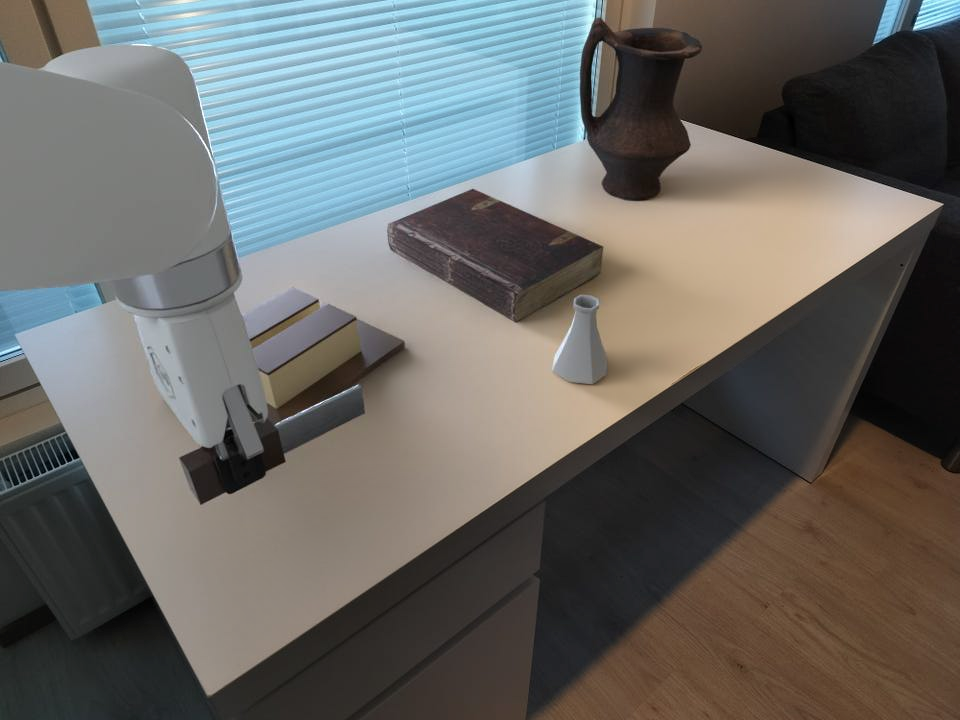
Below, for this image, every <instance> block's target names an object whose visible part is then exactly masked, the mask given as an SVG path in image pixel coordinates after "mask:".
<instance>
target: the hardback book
mask: <svg viewBox="0 0 960 720" xmlns="http://www.w3.org/2000/svg"><path fill="white" fill-rule="evenodd" d="M386 232H387V234H386V235H387V243H388V247H389V249H390V251H392V252H394V253H396V254H398V255H399V256H400V257H402V258H404V259H405V260H408V261H410V262H411V263H412V264H414V265H417V266H418V267H419V268H422V269H423V270H425V271H426V272H428V273H430V274H432V275H433V276H435V277H437V278H438V279H440V280H442V281H444V282H445V283H447V284H449V285H451V286H453V287H454V288H455V289H458V290H459V291H461V292H463V293H464V294H466V295H468V296H469V297H471V298H473V299H474V300H476V301H478V302H480V303H481V304H483V305H485V306H487V307H488V308H490V309H492V310H494V311H495V312H497V313H499V314H500V315H502V316H503V317H506V318H507V319H509V320H511V321H513V322H514V323H518V322H519V321H521V320H523V319H524V318H526V317H528V316H529V315H531V314H533V313H535V312H537V311H538V310H540V309H541V308H543V307H545V306H547V305H548V304H550V303H552V302H554V301H555V300H557V299H558V298H561V297H562V296H564V295H566V294H568V293H569V292H570V291H573V290H574V289H576V288H577V287H579V286H581V285H583V284H584V283H586V282H588V281H590V280H591V279H593V278H595V277H597V276H598V275H600V274H601V271H602V264H603V263H602V262H603V254H604V246H603V245H601V244H599V243H596V242H594V241H593V240H590V239H587V238H585V237H584V236H581V235H578V234H576V233H574V232H572V231H570V230H567V229H565V228H563V227H561V226H558V225H556V224H554V223H551V222H549V221H547V220H545V219H542V218H541V217H538V216H535V214H534V215H533V214H531V213H529V212H527V211H525V210H522V209H520V208H518V207H515V206H514V205H511V204H508V203H506V202H504V201H502V200H499V199H498V198H496V197H493V196H491V195H488V194H487V193H484V192H481V191H479V190H477V189H475V188H470V189H469V190H466V191H464V192H462V193H459V194H456V195H454V196H452V197H449V198H447V199H445V200H441V201H440V202H438V203H434V204H433V205H429V206H428V207H425V208H423V209H421V210H418V211H416V212H413V213H411V214H408V215H406V216H403V217H401V218H399V219H396V220H394V221H392V222H390V223H389V222H388V224H387V230H386Z"/></svg>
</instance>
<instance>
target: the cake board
mask: <svg viewBox="0 0 960 720" xmlns="http://www.w3.org/2000/svg"><path fill="white" fill-rule="evenodd" d="M319 304H320V308H322V307H324V306H325V305H327V304H328V303H327V304H326V303H324V302H322V301H321V300H319ZM357 325H358V332H359V339H360V346H361V352H359V353H358V354H356V355H355V356H353V357H352V358H350V359H349V360H347V361H346V362H345V363H343V364H342V365H340V366H339V367H337V368H336V369H334V370H333V371H331V372H330V373H328V374H327V375H326V376H324V377H323V378H321V379H320V380H318V381H317V382H315V383H314V384H312V385H311V386H309V387H308V388H307V389H305V390H304V391H302V392H301V393H299V394H298V395H296V396H295V397H293V398H292V399H290V400H289V401H288V402H286V403H285V404H283V405H282V406H280V407H279V408H277V409H276V408H274V407H273V406H271V405H269V404H268V403H267V408H268V415H267V418H268V419H269V420H270V421H271V422H272V424H273V425H275V424H277V423H279V422H281V421H283V420H285V419H288V418H290V417H292V416H294V415H296V414H298V413H300V412H302V411H305V410H307V409H309V408H311V407H313V406H315V405H317V404H319V403H321V402H324V401H326V400H328V399H330V398H332V397H334V396H336V395H338V394H340V393H343V392H345V391H347V390H348V389H349V388H350V387H351V386H353V385H354V384H355V383H357V382H358V381H360V380H361V379H362V378H364V377H365V376H367V375H368V374H370V373H371V372H373V371H374V370H376V368H378V367H380V365H382V364H383V363H385V362H386V361H387V360H389V359H390V358H391V357H393V356H395V355H396V354H397V353H399V352H400V351H402V350H403V349H404V348H406V344H405V343H406V342H405V340H403V339H401V338H399V337H397V336H394V335H392V334H391V333H388V332H386V331H384V330H381V329H379V328H377V327H375V326H374V325H371V324H369V323H366V322H365V321H364V320H363V321H362V320H361V319H358V318H357ZM250 414H251V412H250ZM251 417H252V421H253V423H254V422H257V421H258V420H257V419H256V418H255V417H254V416H253V415H252V414H251Z"/></svg>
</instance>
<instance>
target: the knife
mask: <svg viewBox="0 0 960 720" xmlns="http://www.w3.org/2000/svg"><path fill="white" fill-rule="evenodd" d="M363 395H364V394H363V387H362V386H361V384H357V385H355V386H352V387H351V388H348V389H346V390H344V391H343V392H342V393H340V394H338V395H336V396H334V397H332V398H330V399H328V400H326V401H324V402H321V403H319V404H317V405H315V406H313V407H311V408H309V409H307V410H305V411H302V412H300V413H298V414H296V415H294V416H292V417H290V418H288V419H285V420H283V421H281V422H279V423H277V424H275V425H273V424H272V422H271V421H270V420H269V419H268V418H266V420H265V422H264V423H261V422H260V421H259V422H258V421H257V422H254V425H255V428H256V430H257V433H258V435H259V438H260V440H261V443H262V445H263V448H264V452H262V453H261V456H262V460H263V463H264V467H265V471H266V473H267V472H269V471H270V470H273V469H275V468H277V467H279V466H280V465H282V464H285V463H286V462H287V461H286V456H285V455H286V454H287V453H289V452H291V451H293V450H295V449H297V448H299V447H301V446H303V445H305V444H307V443H309V442H311V441H313V440H315V439H317V438H320V437H321V436H323V435H325V434H327V433H329V432H331V431H333V430H335V429H337V428H339V427H341V426H343V425H345V424H348V423H349V422H351V421H353V420H355V419H357V418H358V417H361V416H363V415H365V414H366V410H365V401H364V396H363ZM232 435H234V433H231V434H229V435H227V436H225V437H224V440H225V439H226V438H228V437H230V436H232ZM214 453H216V449H215V446H213V447H211V448H206V447H202V446H201V447H198V448H196V449H193V450H192V451H190V452H188V453H185V454H183V455H181V456H179V457H178V460H179V462H180V465H181V468H182V470H183V473H184V476H185V479H186V481H187V484H188V487H189V490H190V492H191V493H192V494H193V496H194V497H195V499H196V501H197V502H198V503H199V505H201V506H202V505H204V504H206V503H208V502H210V501H212V500H214V499H216V498H218V497H219V496H222V495H223V494H227V493H226V491H225V490H224V488H223V485H222V482H221V479H220V476H219V473H218V470H217V467H216V464H215V461H214V458H213V455H212V454H214Z"/></svg>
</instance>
